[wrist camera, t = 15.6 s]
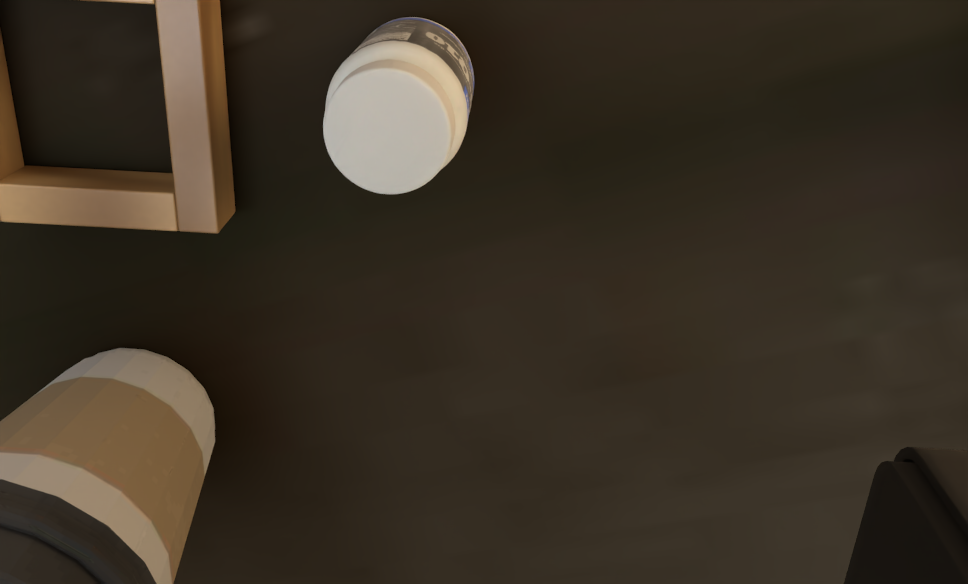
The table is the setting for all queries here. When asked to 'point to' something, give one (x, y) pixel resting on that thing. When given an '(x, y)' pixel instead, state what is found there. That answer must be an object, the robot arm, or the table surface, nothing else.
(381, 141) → the pill bottle
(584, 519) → the table surface
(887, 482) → the robot arm
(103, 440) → the coffee cup
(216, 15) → the holder
